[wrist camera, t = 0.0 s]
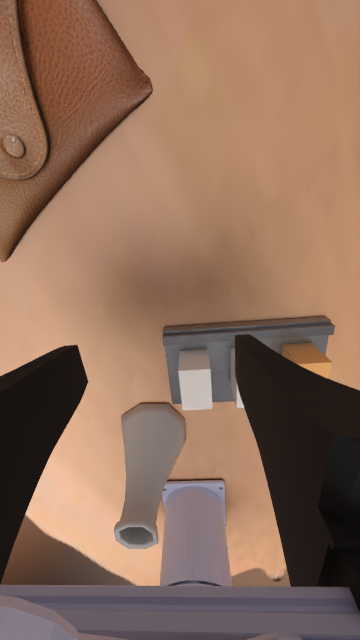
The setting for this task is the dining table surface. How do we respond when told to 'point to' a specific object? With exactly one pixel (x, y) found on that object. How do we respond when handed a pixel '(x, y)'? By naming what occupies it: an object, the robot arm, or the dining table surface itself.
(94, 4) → the brown tapered rod
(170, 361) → the panel
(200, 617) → the robot arm
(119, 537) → the flask
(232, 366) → the toggle mid
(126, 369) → the dining table surface
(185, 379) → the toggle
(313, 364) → the toggle orange
